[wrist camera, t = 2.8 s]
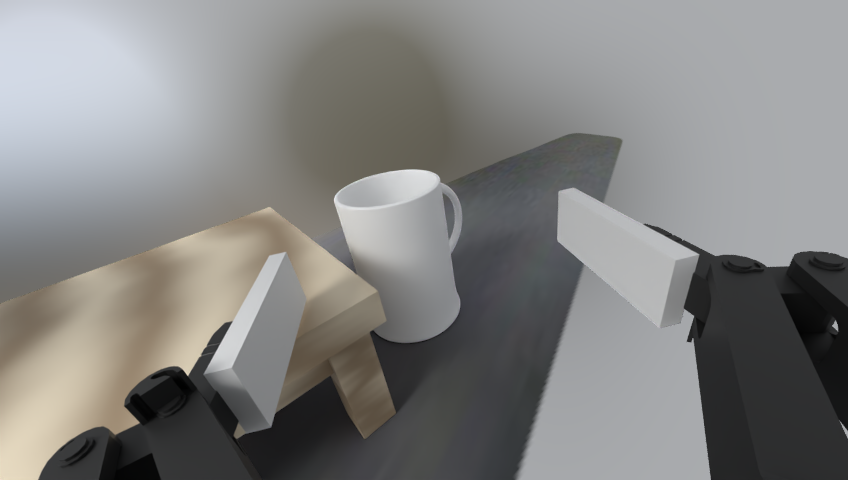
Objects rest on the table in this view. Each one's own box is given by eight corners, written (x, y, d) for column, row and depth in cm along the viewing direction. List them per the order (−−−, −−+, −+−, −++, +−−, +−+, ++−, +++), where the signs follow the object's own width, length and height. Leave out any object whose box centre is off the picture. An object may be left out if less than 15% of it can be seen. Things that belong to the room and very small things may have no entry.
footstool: (-51, 814, 11) (-504, 805, 6) (65, 412, 25) (-42, 318, 21) (413, 413, 21) (378, 290, 16) (304, 290, 35) (269, 207, 31)
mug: (444, 258, 36) (428, 153, 31) (504, 288, 30) (497, 163, 25) (353, 311, 31) (312, 195, 25) (403, 362, 24) (364, 221, 19)
